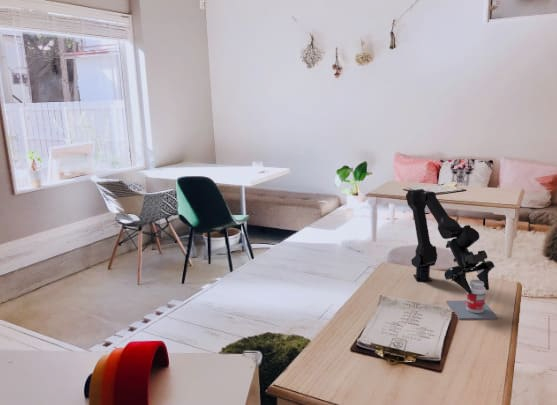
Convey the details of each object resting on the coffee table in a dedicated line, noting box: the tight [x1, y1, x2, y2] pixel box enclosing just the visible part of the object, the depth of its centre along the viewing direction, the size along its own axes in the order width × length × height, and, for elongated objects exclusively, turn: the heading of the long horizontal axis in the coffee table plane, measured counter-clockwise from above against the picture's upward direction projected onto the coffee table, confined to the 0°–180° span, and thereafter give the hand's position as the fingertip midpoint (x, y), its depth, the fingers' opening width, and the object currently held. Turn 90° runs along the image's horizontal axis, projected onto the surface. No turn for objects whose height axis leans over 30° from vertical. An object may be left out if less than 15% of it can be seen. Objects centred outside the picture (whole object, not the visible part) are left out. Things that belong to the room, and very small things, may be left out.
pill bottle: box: [466, 279, 487, 313], centre depth 175 cm, size 6×6×11 cm
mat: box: [446, 299, 499, 321], centre depth 177 cm, size 14×14×1 cm
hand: (479, 291), depth 173 cm, fingers open, 7 cm apart
